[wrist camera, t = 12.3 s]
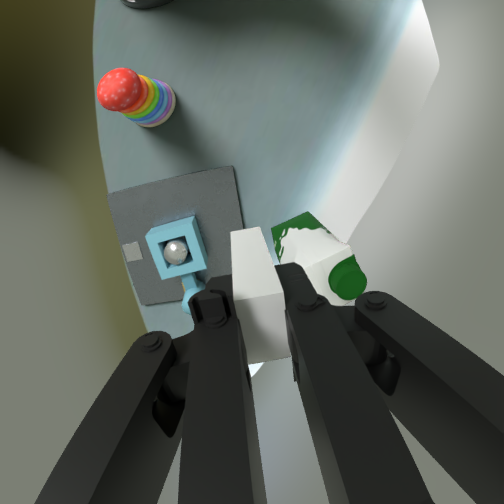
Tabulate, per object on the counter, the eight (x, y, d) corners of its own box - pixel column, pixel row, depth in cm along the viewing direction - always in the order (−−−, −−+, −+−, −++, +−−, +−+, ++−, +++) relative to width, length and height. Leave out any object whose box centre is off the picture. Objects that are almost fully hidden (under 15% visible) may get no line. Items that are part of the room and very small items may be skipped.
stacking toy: (127, 126, 40) (70, 121, 22) (135, 81, 37) (84, 52, 19) (172, 128, 41) (136, 121, 23) (180, 82, 38) (151, 47, 20)
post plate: (108, 193, 43) (94, 201, 38) (232, 165, 44) (232, 168, 38) (142, 302, 52) (135, 320, 46) (253, 285, 52) (256, 302, 47)
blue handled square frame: (179, 301, 51) (174, 319, 45) (151, 228, 45) (141, 240, 40) (219, 291, 51) (218, 310, 45) (194, 215, 45) (190, 226, 40)
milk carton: (326, 246, 51) (376, 304, 32) (282, 267, 51) (311, 336, 33) (310, 204, 47) (360, 245, 29) (263, 225, 48) (285, 280, 30)
